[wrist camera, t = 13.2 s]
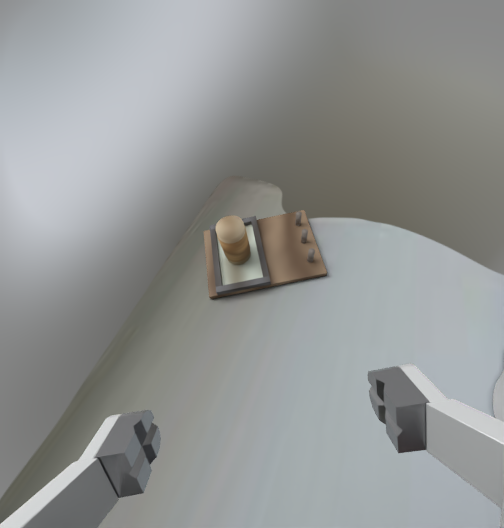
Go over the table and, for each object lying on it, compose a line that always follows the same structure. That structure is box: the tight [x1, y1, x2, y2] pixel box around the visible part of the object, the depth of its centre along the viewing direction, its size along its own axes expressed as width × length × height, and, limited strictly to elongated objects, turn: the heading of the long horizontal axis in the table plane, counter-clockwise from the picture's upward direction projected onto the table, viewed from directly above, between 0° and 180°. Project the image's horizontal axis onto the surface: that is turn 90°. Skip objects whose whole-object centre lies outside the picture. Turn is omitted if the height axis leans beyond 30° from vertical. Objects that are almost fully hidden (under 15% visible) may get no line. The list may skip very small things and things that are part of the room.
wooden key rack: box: [204, 210, 327, 299], centre depth 43 cm, size 20×14×4 cm
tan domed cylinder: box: [216, 216, 251, 265], centre depth 40 cm, size 5×5×8 cm
